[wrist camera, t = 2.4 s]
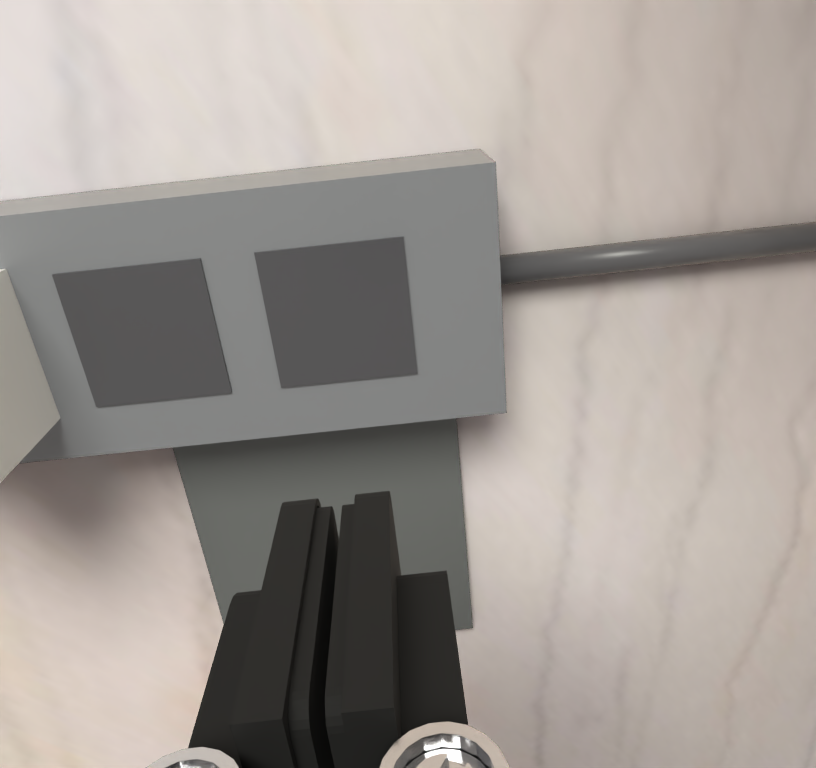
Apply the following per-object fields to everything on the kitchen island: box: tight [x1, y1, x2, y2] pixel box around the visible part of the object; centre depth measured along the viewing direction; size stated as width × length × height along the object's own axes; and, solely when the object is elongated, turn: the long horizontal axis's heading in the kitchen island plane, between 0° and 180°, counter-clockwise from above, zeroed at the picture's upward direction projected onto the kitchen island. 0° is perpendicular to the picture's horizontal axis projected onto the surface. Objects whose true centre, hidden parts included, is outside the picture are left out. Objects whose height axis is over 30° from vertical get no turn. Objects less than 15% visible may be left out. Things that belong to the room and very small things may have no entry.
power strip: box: [0, 149, 816, 463], centre depth 22 cm, size 36×8×4 cm, turn 96°
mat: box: [173, 418, 473, 630], centre depth 28 cm, size 11×11×1 cm
